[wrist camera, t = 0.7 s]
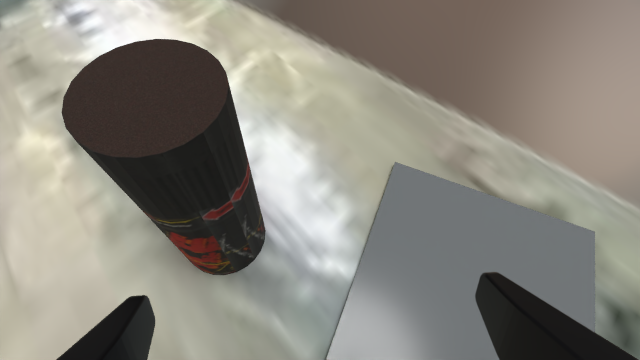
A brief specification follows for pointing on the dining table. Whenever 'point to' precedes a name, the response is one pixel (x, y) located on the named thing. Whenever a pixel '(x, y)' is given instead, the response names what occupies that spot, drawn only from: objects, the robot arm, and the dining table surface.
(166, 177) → the deodorant
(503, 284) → the robot arm
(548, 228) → the slate board
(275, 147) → the dining table surface
